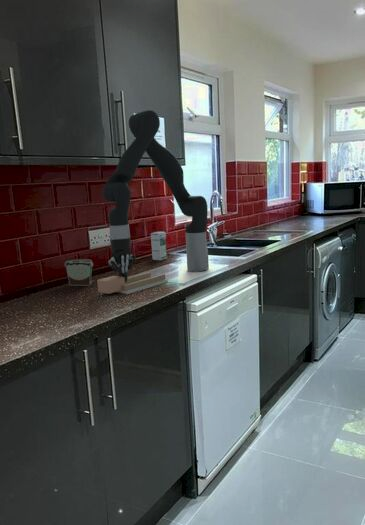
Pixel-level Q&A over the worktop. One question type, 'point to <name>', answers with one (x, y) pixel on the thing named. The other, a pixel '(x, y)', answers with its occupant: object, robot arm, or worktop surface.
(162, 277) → the chute
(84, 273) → the food container
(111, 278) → the block
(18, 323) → the worktop surface
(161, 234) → the white pill bottle
